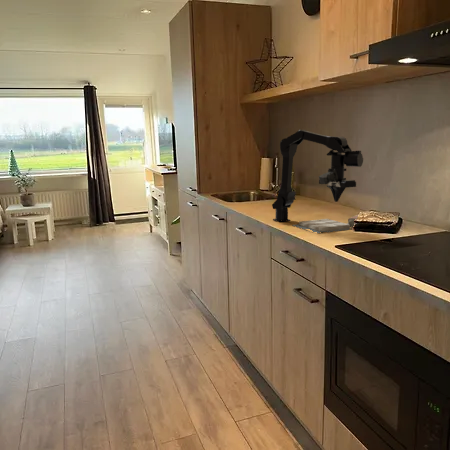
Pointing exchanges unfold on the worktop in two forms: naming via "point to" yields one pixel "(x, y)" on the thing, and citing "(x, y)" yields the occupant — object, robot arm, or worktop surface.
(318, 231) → the underlay mat
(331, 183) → the robot arm
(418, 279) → the worktop surface
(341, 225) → the grey flat block
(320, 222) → the loose plank
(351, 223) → the packaged product
